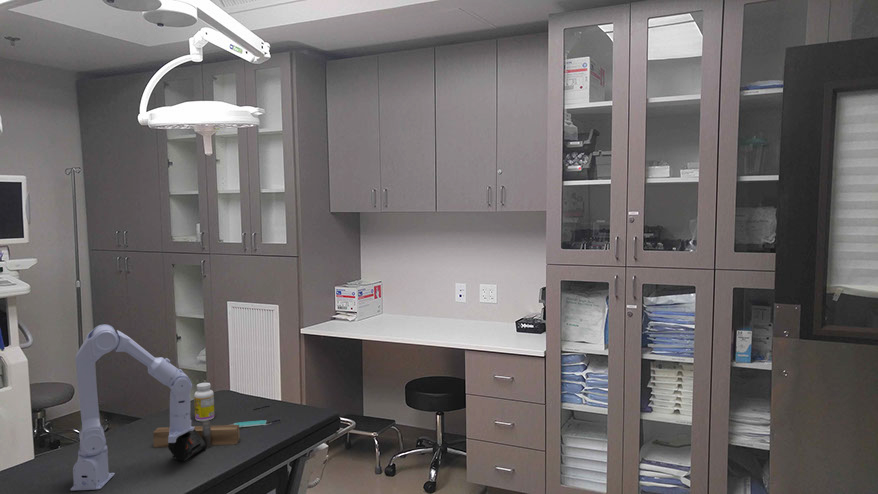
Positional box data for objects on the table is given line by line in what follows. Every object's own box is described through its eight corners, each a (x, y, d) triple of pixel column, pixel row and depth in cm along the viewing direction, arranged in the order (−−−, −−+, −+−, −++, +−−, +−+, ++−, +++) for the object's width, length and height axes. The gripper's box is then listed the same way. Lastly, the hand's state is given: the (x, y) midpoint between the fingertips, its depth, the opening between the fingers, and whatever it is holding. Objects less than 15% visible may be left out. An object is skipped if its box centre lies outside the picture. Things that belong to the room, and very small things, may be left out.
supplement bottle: (194, 417, 224) (193, 382, 223) (213, 414, 226) (212, 380, 225) (195, 423, 218) (194, 388, 217) (215, 420, 220) (214, 385, 219)
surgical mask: (271, 404, 226) (284, 411, 219) (271, 415, 226) (284, 422, 219) (216, 417, 212) (227, 425, 205) (216, 429, 213) (228, 437, 205)
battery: (172, 468, 185) (188, 456, 183) (158, 445, 186) (174, 433, 185) (197, 456, 196) (213, 445, 195) (185, 434, 198) (200, 422, 196)
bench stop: (235, 447, 196) (234, 422, 196) (151, 450, 194) (149, 426, 193) (239, 439, 203) (238, 415, 202) (158, 442, 200) (157, 418, 200)
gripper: (185, 421, 177) (185, 467, 177) (201, 405, 191) (201, 448, 192) (160, 421, 176) (160, 467, 177) (178, 406, 191) (178, 448, 191)
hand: (180, 457), depth 184 cm, fingers closed, pressing on battery
